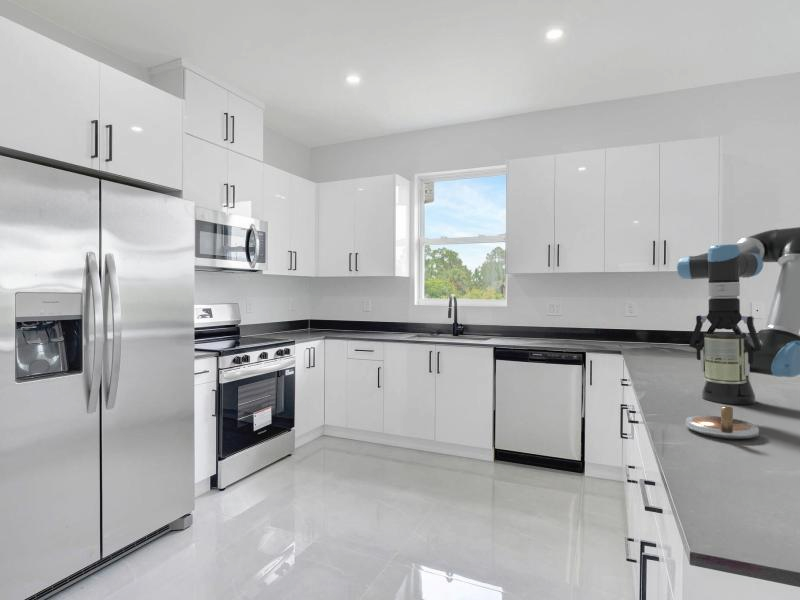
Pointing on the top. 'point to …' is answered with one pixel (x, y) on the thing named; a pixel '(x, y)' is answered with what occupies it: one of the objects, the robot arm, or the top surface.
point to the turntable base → (724, 437)
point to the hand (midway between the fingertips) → (724, 373)
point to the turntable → (723, 425)
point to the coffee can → (724, 357)
